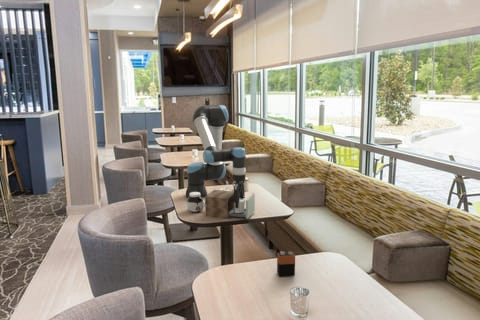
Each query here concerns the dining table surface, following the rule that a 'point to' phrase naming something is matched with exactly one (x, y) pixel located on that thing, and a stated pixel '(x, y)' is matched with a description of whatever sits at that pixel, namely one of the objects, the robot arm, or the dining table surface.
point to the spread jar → (195, 202)
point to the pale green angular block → (249, 208)
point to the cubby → (219, 204)
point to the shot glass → (241, 205)
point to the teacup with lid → (244, 184)
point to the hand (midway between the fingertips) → (239, 210)
